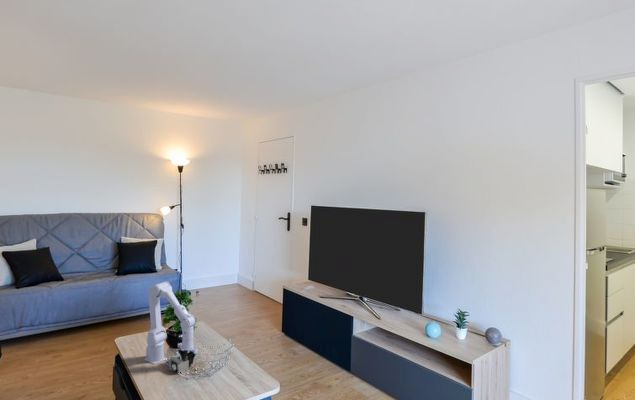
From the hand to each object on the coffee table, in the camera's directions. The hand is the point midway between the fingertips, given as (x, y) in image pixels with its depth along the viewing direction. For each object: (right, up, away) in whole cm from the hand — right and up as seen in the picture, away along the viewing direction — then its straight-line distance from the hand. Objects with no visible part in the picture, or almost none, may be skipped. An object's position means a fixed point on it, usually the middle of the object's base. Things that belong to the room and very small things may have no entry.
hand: (187, 363), depth 194 cm
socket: (-3, -1, -5) cm, 5 cm away
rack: (-5, -1, +8) cm, 9 cm away
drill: (-1, -1, -2) cm, 3 cm away
